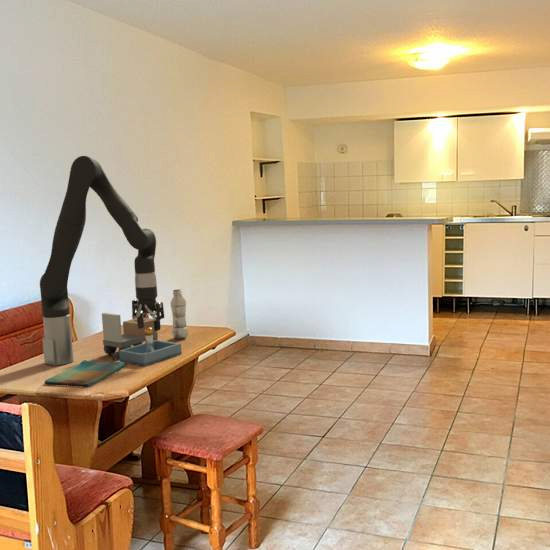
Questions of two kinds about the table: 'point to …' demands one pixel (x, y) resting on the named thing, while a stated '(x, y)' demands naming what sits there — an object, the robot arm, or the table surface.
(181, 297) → the plastic bottle
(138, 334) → the trolley
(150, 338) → the stop pin
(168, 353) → the tray
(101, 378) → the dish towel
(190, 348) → the table surface
